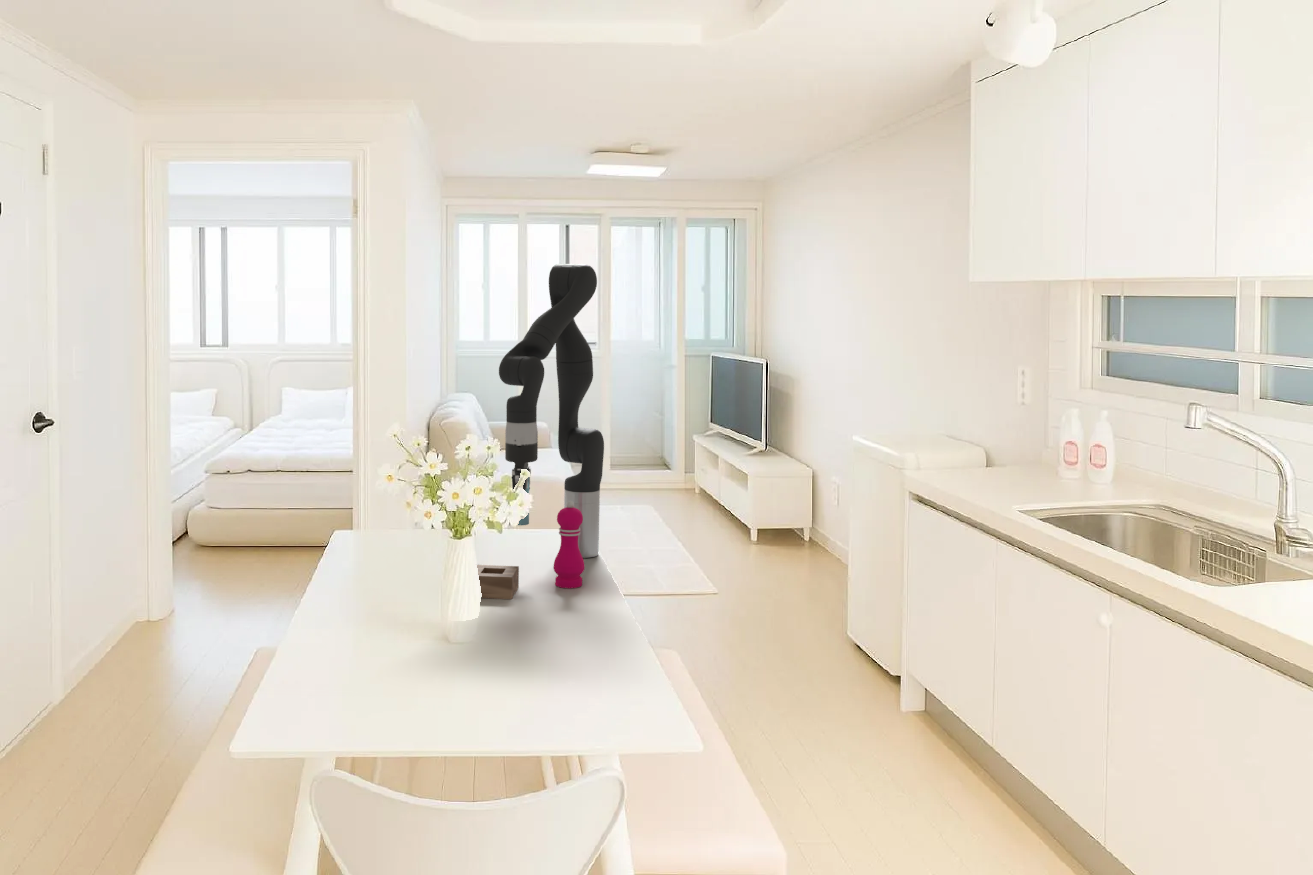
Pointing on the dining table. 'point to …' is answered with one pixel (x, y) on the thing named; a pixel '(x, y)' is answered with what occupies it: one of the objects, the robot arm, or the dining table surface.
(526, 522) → the peg
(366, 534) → the dining table surface
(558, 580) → the pepper mill
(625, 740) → the dining table surface
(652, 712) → the dining table surface
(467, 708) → the dining table surface
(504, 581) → the socket block
